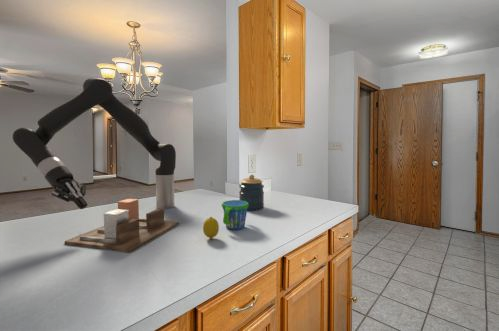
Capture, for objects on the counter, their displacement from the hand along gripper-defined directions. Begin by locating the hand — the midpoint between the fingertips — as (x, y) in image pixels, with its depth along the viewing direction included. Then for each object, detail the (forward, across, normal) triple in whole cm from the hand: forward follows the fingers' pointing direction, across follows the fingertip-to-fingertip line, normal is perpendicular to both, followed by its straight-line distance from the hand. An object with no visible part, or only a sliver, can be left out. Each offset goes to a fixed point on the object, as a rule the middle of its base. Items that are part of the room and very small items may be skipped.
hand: (84, 207), depth 97 cm
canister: (+42, +57, -26) cm, 75 cm away
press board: (+16, +7, -1) cm, 18 cm away
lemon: (+39, +10, -24) cm, 47 cm away
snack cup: (+42, +25, -27) cm, 56 cm away
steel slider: (+17, -1, -3) cm, 17 cm away
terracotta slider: (+11, +15, +3) cm, 19 cm away
